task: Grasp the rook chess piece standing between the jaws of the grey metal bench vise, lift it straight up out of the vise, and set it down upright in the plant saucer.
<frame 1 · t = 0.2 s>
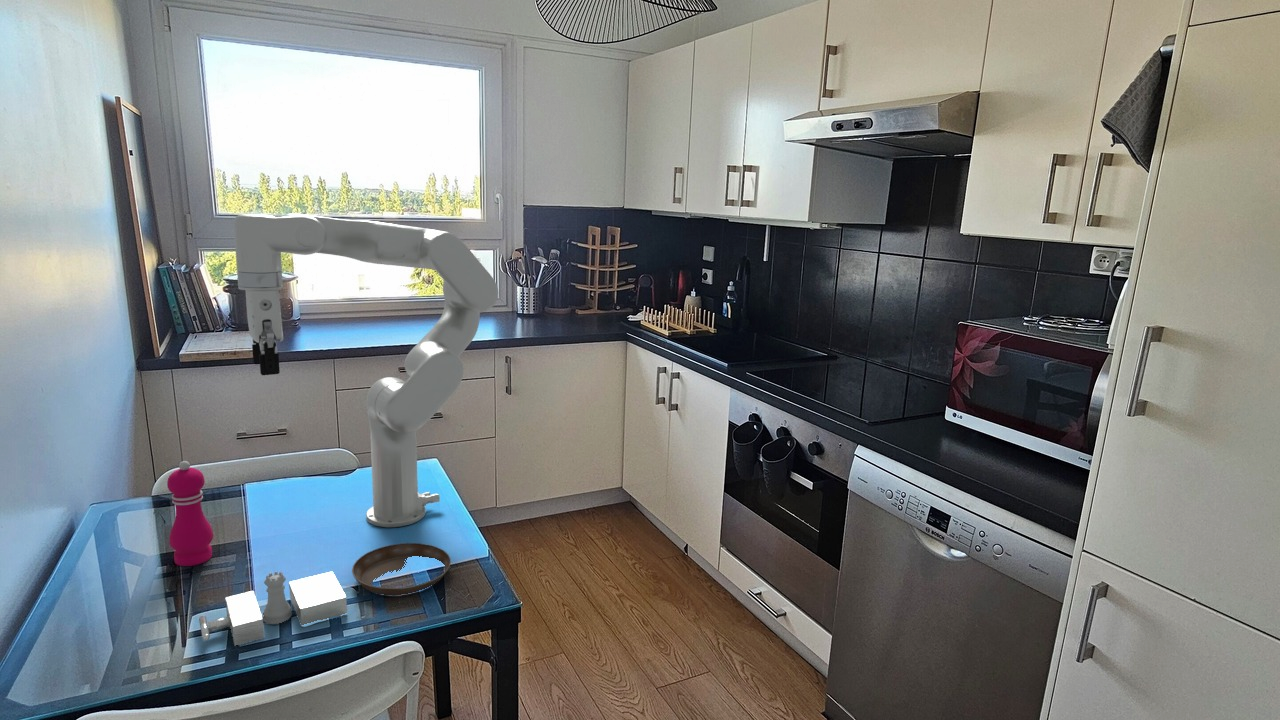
hand: (266, 368, 141), 36 cm above the table, tool pointing down, fingers open, 9 cm apart
pepper mill: (193, 559, 141), on the table
bench vise: (277, 618, 123), on the table
rook chess piece: (277, 619, 123), on the table
plant saucer: (402, 579, 138), on the table
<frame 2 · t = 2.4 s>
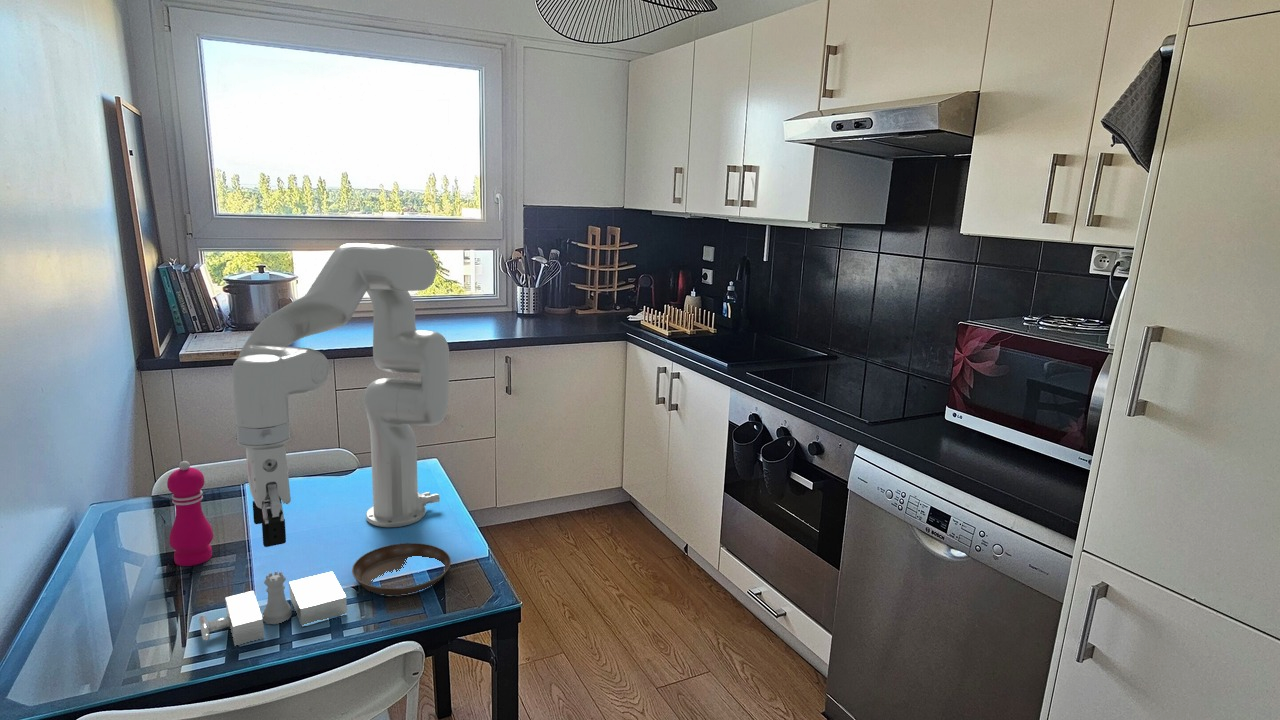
hand: (269, 533, 119), 16 cm above the table, tool pointing down, fingers open, 9 cm apart
nothing on the table moved.
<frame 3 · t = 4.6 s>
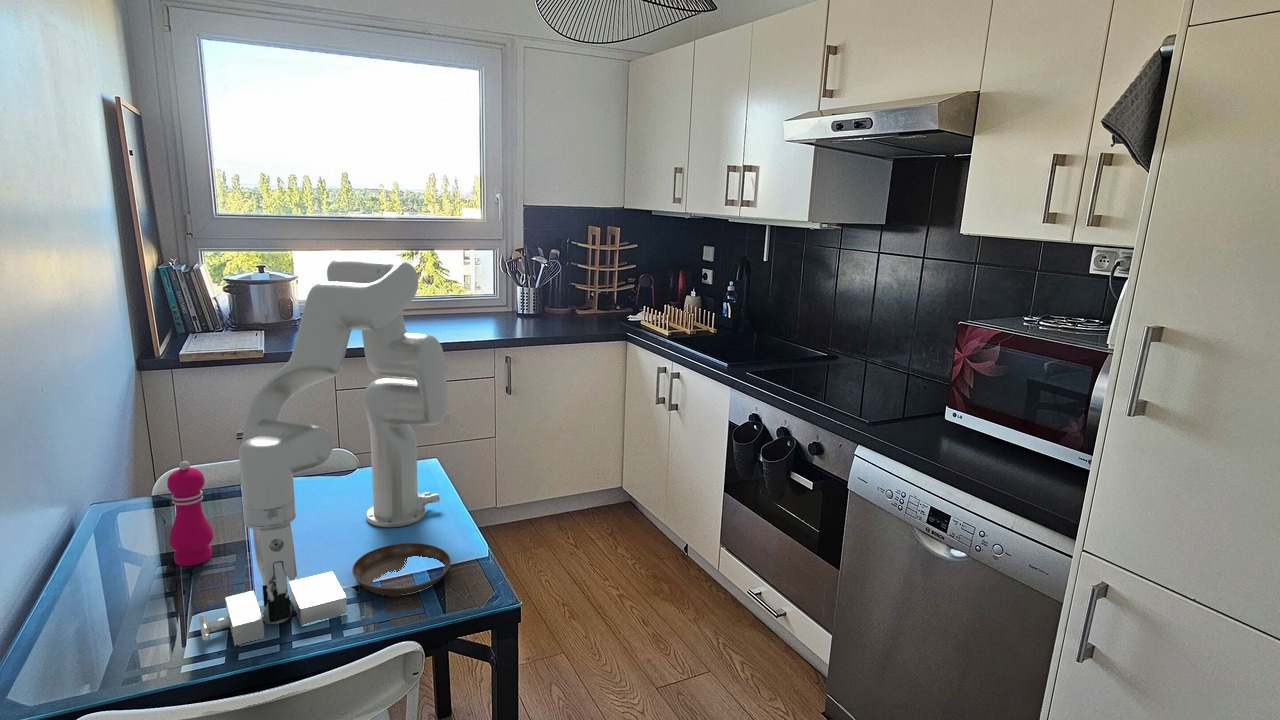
hand: (277, 611, 123), 1 cm above the table, tool pointing down, fingers closed on rook chess piece, 4 cm apart
rook chess piece: (277, 619, 123), on the table, touching gripper
everything else where it was.
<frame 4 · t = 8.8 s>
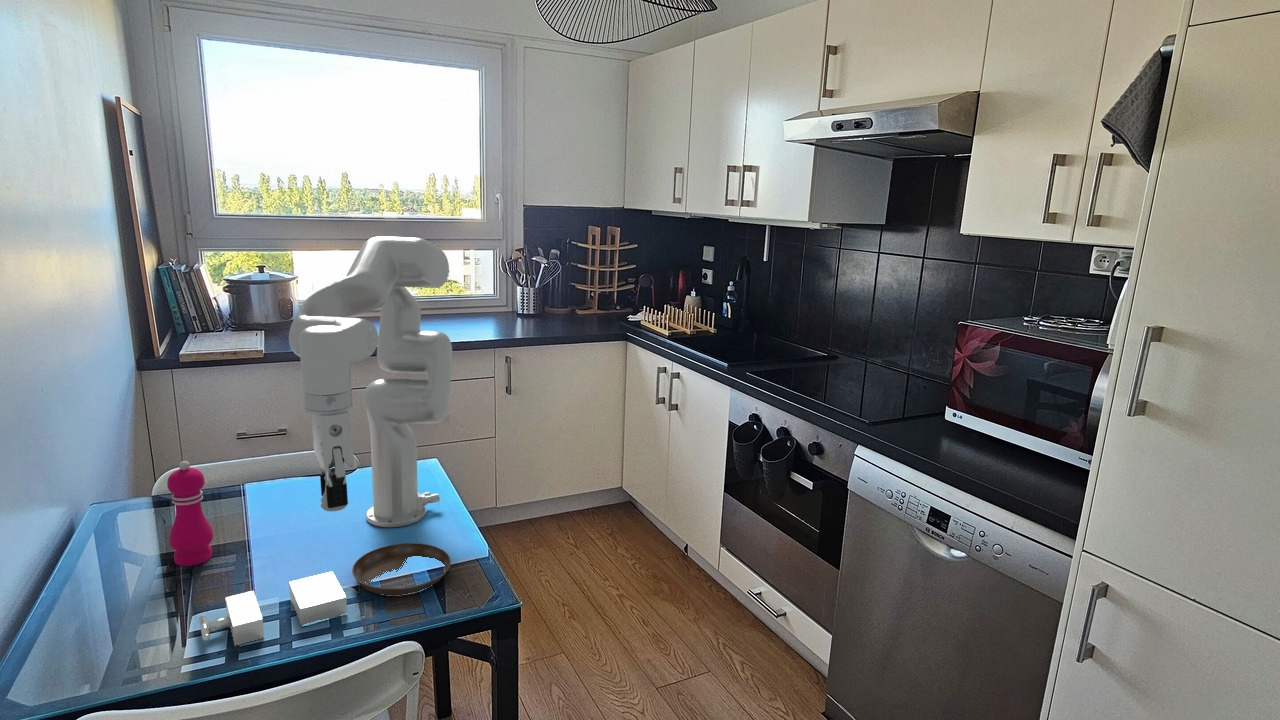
hand: (334, 499, 126), 19 cm above the table, tool pointing down, fingers closed on rook chess piece, 4 cm apart
rook chess piece: (334, 507, 127), point 17 cm above the table, touching gripper
everything else where it was.
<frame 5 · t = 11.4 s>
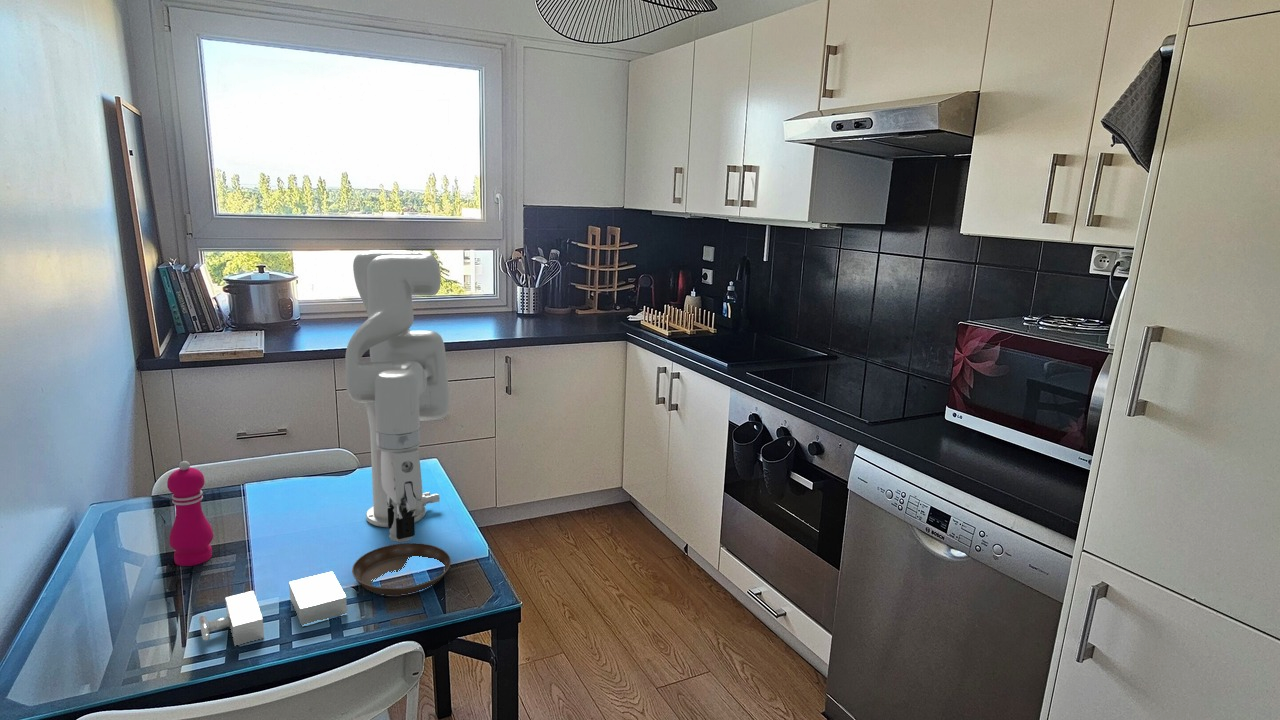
hand: (401, 530, 136), 9 cm above the table, tool pointing down, fingers closed on rook chess piece, 4 cm apart
rook chess piece: (401, 538, 136), point 8 cm above the table, touching gripper
everything else where it was.
when the fingers open (4 cm above the table, at t = 13.2 s): rook chess piece stays where it is, resting on plant saucer.
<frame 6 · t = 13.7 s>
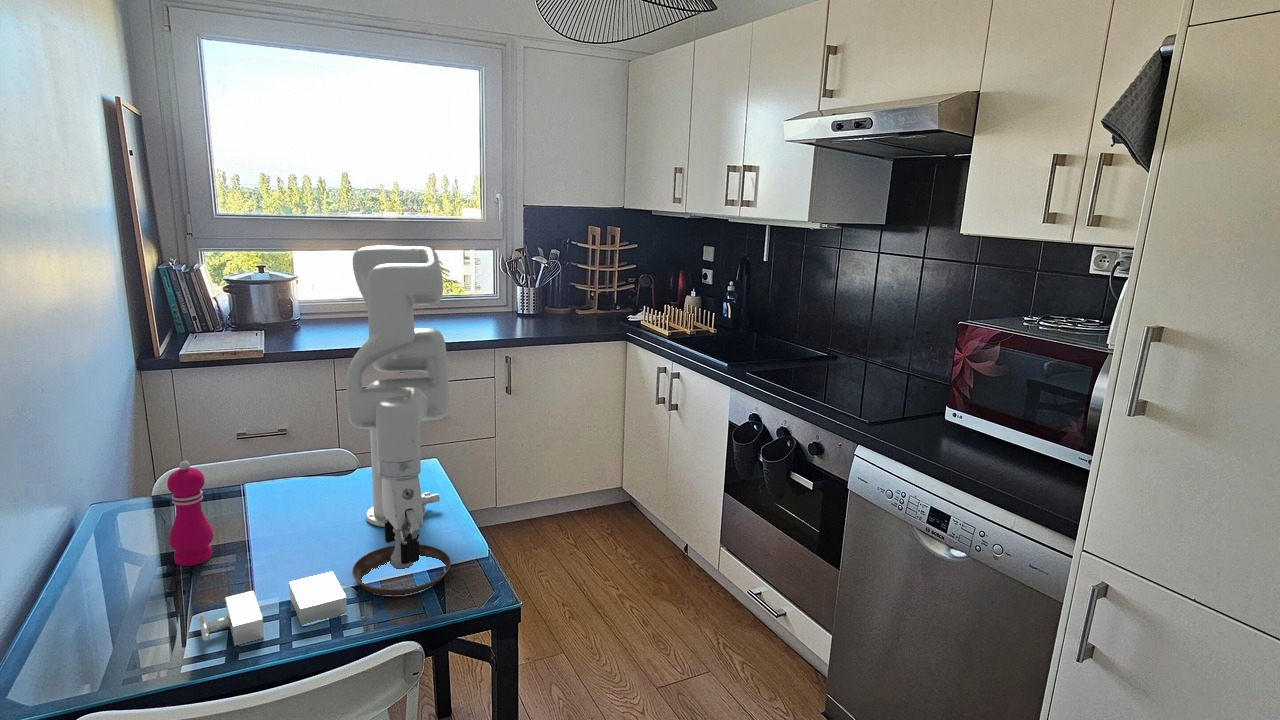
hand: (401, 551, 137), 5 cm above the table, tool pointing down, fingers open, 9 cm apart
rook chess piece: (402, 564, 138), point 2 cm above the table, touching plant saucer
plant saucer: (402, 580, 138), on the table, touching rook chess piece
everything else where it was.
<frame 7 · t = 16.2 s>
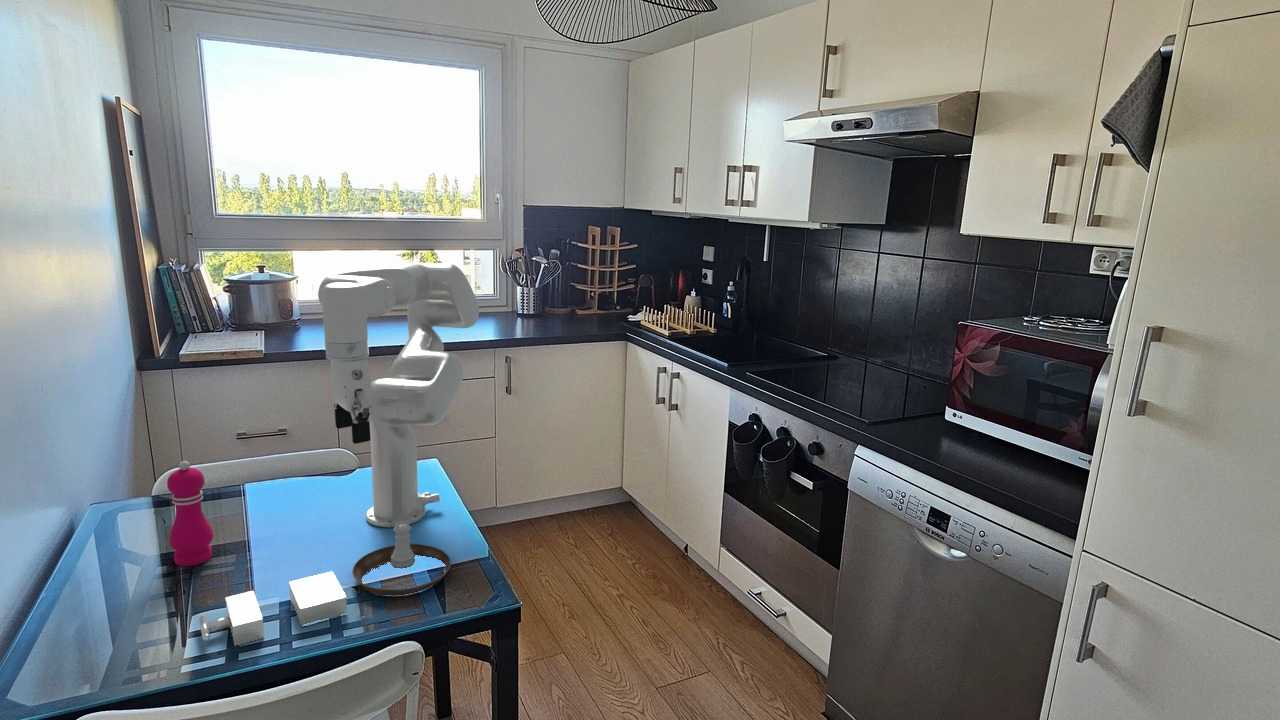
hand: (352, 434, 141), 25 cm above the table, tool pointing down, fingers open, 9 cm apart
nothing on the table moved.
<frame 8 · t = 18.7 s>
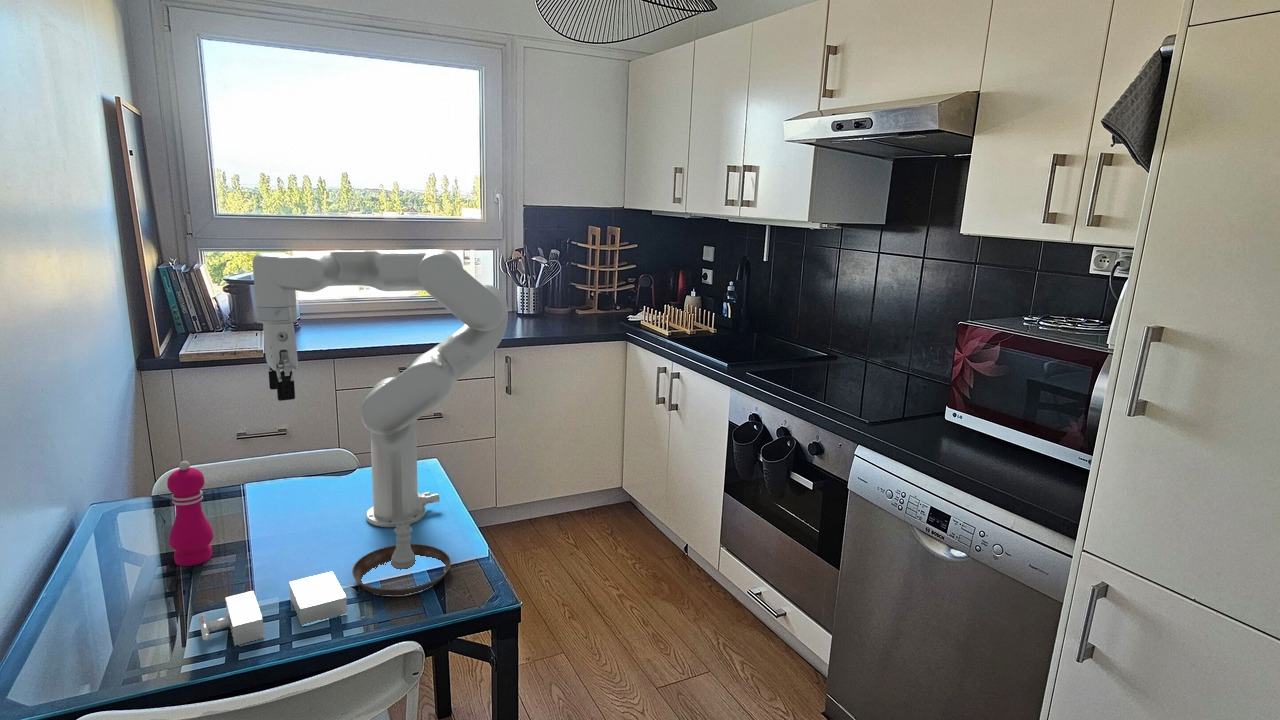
hand: (282, 394, 154), 28 cm above the table, tool pointing down, fingers open, 9 cm apart
nothing on the table moved.
at the end: rook chess piece 0.2 cm from the plant saucer (horizontally); rook chess piece tilted 2°; rook chess piece touching plant saucer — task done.
